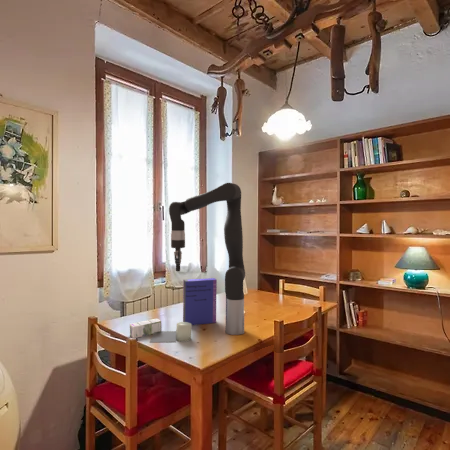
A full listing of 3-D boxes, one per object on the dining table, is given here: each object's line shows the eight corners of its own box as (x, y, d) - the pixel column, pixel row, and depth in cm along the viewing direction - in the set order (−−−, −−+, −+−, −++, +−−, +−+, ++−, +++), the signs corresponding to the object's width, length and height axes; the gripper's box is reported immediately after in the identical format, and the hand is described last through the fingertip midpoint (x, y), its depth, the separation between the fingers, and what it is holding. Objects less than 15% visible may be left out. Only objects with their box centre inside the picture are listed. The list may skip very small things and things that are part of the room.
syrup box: (156, 317, 174) (128, 323, 166) (161, 320, 169) (132, 327, 161) (157, 328, 175) (129, 335, 166) (162, 332, 170) (133, 338, 162)
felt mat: (178, 331, 172) (178, 331, 172) (176, 342, 157) (176, 342, 157) (154, 332, 171) (154, 331, 171) (149, 342, 156) (149, 342, 156)
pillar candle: (190, 336, 165) (191, 322, 165) (190, 341, 158) (191, 326, 158) (176, 335, 165) (177, 321, 165) (175, 341, 158) (176, 326, 158)
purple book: (213, 320, 192) (213, 277, 192) (216, 322, 188) (216, 279, 187) (182, 323, 186) (183, 279, 185) (185, 326, 182) (185, 281, 181)
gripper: (184, 239, 178) (184, 272, 178) (185, 238, 191) (185, 269, 192) (169, 239, 178) (169, 272, 178) (172, 238, 191) (172, 269, 191)
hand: (178, 270), depth 185 cm, fingers closed
